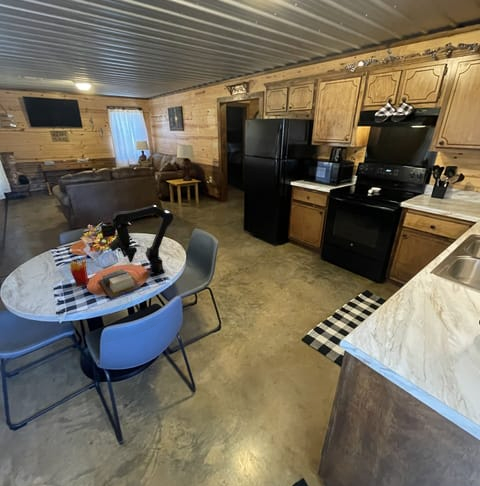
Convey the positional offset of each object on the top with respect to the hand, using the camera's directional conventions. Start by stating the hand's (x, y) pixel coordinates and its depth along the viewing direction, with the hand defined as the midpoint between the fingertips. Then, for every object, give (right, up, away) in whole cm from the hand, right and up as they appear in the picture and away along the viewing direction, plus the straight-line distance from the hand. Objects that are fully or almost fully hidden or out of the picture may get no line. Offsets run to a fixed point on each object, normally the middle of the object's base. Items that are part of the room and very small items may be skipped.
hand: (127, 259), depth 151 cm
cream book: (0, -11, -8) cm, 14 cm away
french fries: (-25, -14, -1) cm, 28 cm away
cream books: (0, -15, -7) cm, 16 cm away
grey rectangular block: (-7, -11, +1) cm, 14 cm away
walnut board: (-3, -14, -3) cm, 15 cm away
